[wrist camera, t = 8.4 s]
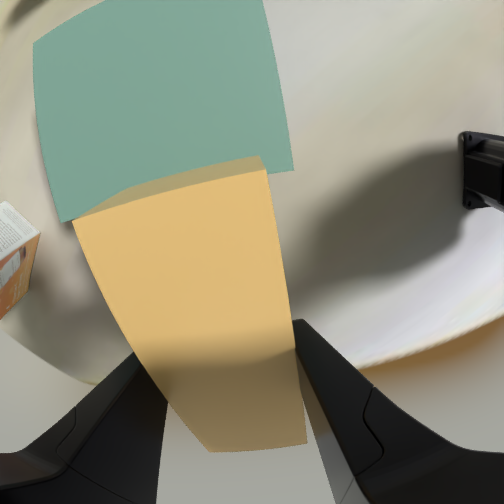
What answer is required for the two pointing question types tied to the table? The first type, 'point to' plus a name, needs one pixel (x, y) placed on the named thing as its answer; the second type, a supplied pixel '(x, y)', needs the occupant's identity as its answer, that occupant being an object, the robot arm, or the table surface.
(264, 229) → the light orange rectangular block
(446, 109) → the table surface
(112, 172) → the lid
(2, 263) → the small box
